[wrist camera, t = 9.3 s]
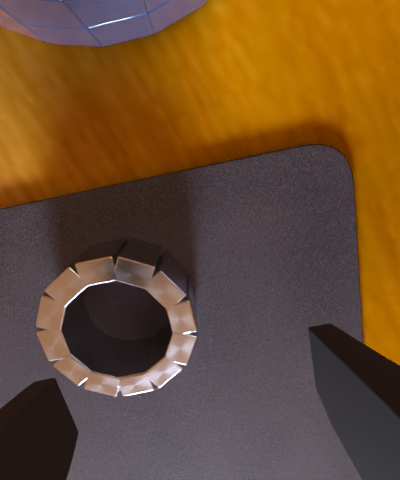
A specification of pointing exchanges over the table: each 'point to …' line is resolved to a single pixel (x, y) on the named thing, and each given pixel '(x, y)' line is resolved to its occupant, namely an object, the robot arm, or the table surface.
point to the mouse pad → (201, 315)
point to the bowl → (92, 19)
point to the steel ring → (111, 348)
